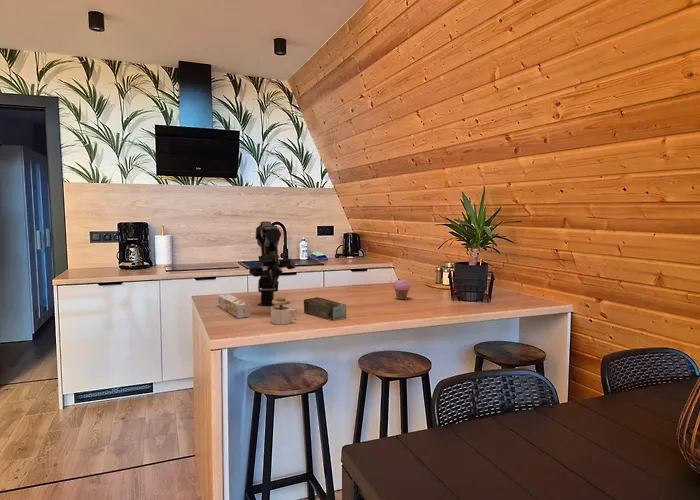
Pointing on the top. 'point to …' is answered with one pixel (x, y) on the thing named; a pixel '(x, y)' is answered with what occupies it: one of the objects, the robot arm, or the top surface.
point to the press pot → (282, 315)
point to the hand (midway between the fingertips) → (273, 286)
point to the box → (234, 306)
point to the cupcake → (401, 288)
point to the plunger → (281, 302)
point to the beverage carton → (324, 308)
